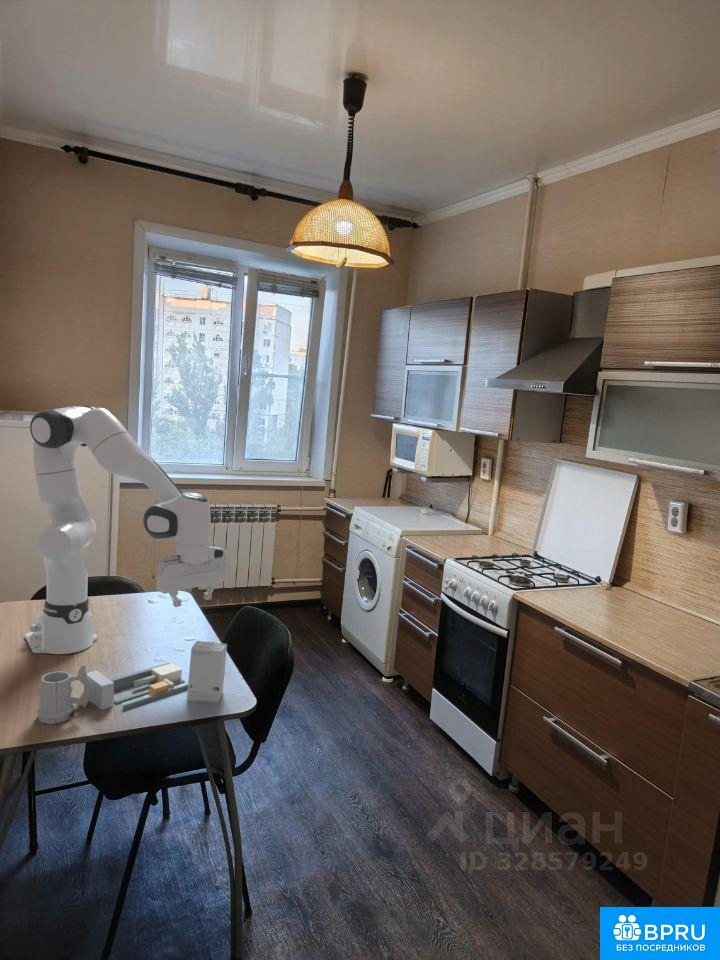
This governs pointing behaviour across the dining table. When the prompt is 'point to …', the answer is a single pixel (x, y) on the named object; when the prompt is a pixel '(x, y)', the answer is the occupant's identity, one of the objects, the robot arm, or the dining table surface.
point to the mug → (61, 695)
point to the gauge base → (105, 687)
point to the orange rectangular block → (158, 688)
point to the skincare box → (206, 671)
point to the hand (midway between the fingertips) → (192, 602)
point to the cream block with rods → (162, 675)
